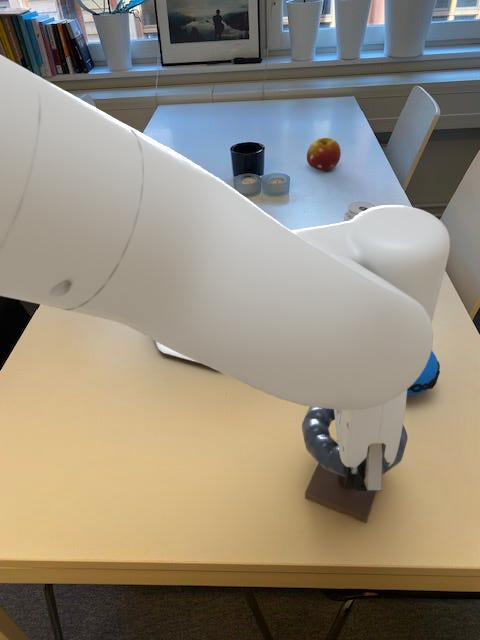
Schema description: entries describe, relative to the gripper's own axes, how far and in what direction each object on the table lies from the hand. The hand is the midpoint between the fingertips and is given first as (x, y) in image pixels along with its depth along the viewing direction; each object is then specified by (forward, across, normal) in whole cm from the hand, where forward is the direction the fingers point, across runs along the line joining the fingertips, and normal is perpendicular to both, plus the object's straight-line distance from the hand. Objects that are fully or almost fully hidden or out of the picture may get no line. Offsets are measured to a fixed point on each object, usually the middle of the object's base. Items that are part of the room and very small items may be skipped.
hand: (357, 468), depth 54 cm
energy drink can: (+10, -52, +7) cm, 53 cm away
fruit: (+11, -105, +5) cm, 106 cm away
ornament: (+10, -21, +11) cm, 26 cm away
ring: (-1, -4, 0) cm, 4 cm away
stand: (+10, -4, 0) cm, 11 cm away
